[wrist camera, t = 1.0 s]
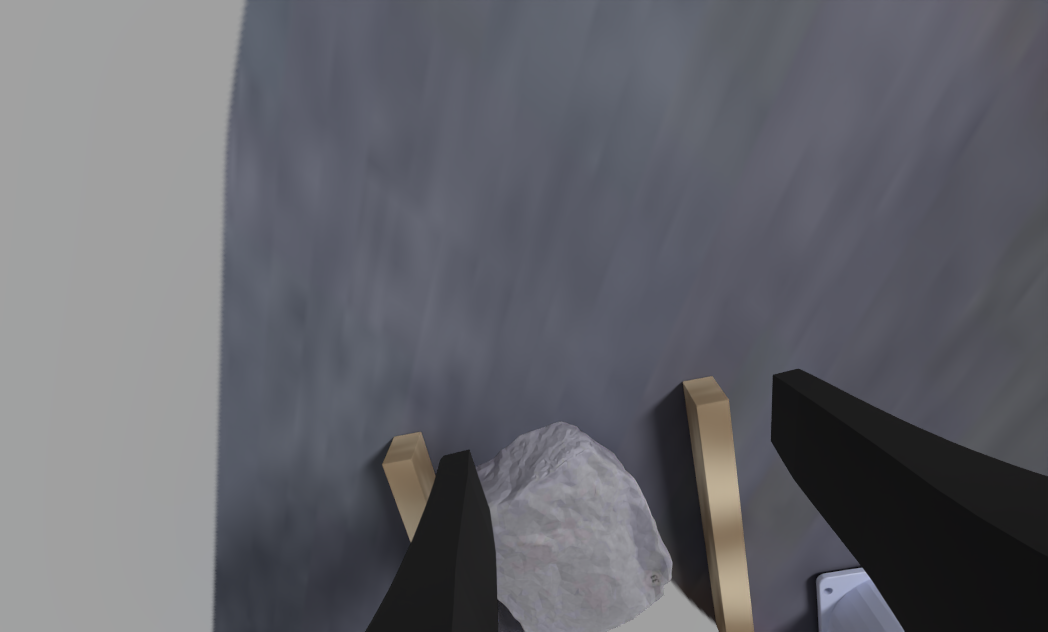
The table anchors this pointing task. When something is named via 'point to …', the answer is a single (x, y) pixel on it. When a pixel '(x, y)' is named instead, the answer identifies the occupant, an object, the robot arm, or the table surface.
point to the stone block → (571, 534)
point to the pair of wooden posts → (714, 484)
